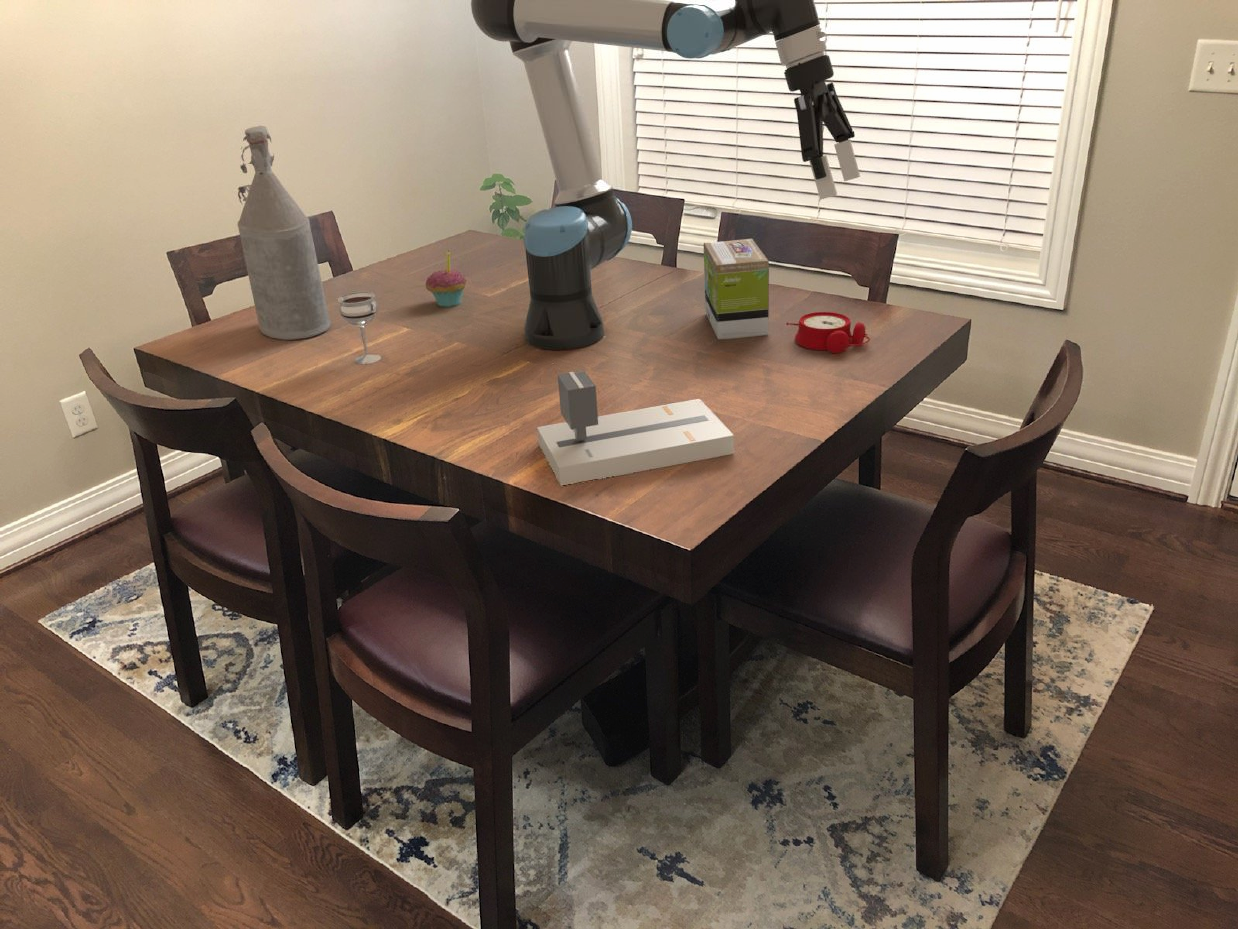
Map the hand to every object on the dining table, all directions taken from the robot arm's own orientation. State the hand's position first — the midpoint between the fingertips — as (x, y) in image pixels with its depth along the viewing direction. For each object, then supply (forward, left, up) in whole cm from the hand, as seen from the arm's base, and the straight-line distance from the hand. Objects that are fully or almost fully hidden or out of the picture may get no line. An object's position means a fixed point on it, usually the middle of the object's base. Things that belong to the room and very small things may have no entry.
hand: (840, 187), depth 171 cm
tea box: (-16, -12, -28) cm, 35 cm away
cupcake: (-54, -62, -28) cm, 87 cm away
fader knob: (+27, -54, -24) cm, 65 cm away
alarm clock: (0, 0, -28) cm, 28 cm away
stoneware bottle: (-52, -94, -28) cm, 112 cm away
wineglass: (-28, -81, -28) cm, 91 cm away
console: (+27, -46, -28) cm, 60 cm away
